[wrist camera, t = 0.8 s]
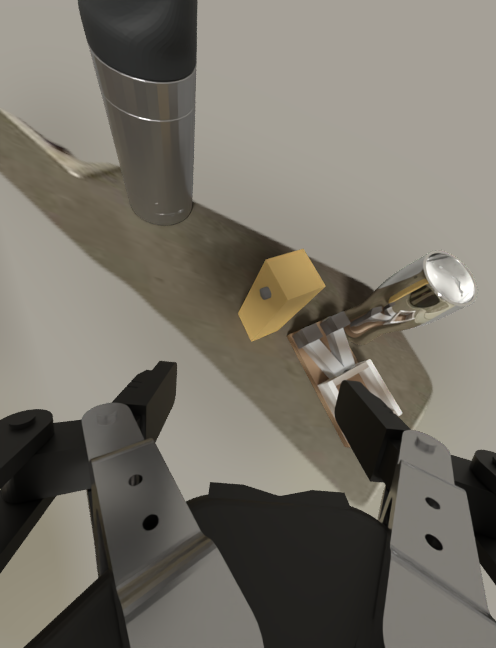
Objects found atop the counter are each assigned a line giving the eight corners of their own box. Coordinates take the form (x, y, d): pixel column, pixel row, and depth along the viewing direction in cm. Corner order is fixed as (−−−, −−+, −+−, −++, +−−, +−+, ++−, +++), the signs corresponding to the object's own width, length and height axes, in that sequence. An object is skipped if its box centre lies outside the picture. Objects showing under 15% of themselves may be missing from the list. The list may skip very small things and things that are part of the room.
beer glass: (335, 341, 36) (426, 296, 23) (337, 301, 39) (418, 240, 25) (376, 352, 37) (486, 316, 24) (375, 312, 40) (473, 259, 26)
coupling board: (286, 336, 35) (298, 327, 31) (327, 318, 37) (343, 307, 34) (344, 446, 31) (365, 450, 27) (385, 417, 34) (409, 418, 30)
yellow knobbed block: (234, 315, 34) (260, 261, 22) (267, 302, 36) (308, 247, 24) (247, 343, 33) (282, 302, 21) (281, 328, 35) (330, 284, 23)
